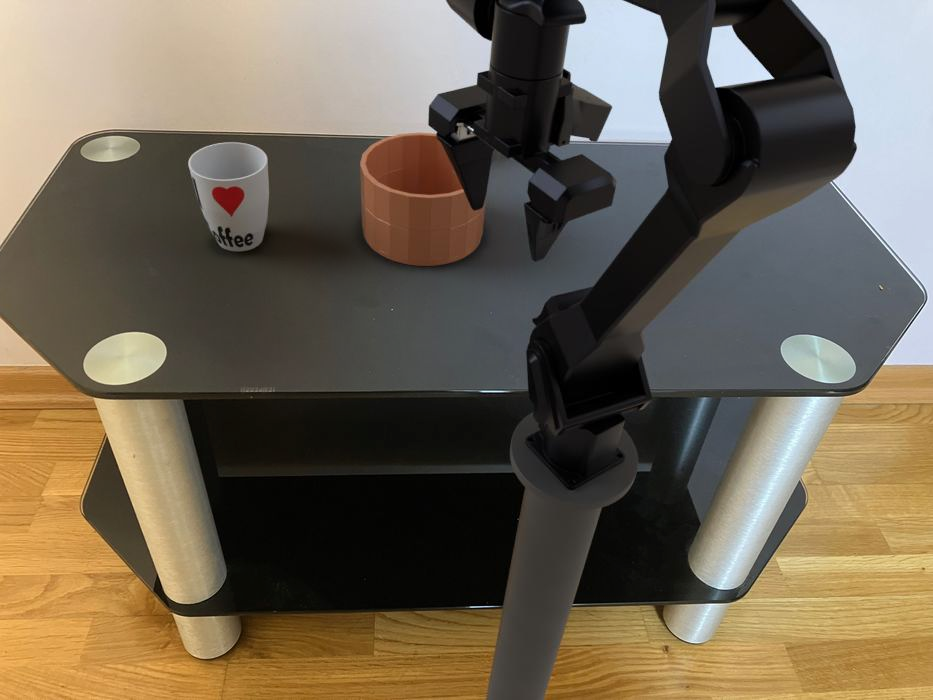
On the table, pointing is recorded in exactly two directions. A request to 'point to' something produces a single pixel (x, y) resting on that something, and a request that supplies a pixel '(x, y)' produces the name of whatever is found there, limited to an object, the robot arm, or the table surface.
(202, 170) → the cup
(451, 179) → the bowl
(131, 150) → the table surface
